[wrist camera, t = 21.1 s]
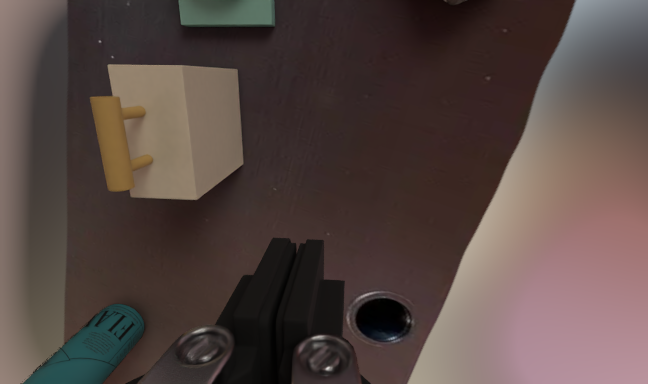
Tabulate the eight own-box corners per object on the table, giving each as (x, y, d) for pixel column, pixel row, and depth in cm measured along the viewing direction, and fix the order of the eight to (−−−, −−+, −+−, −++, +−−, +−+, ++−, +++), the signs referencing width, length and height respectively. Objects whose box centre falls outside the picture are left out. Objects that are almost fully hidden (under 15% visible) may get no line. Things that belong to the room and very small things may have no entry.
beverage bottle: (158, 307, 46) (21, 467, 27) (145, 342, 48) (10, 512, 29) (112, 287, 46) (-58, 435, 27) (102, 323, 48) (-63, 483, 29)
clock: (168, 221, 23) (84, 217, 23) (243, 164, 38) (192, 162, 39) (146, 62, 20) (49, 61, 20) (237, 69, 35) (181, 68, 36)
